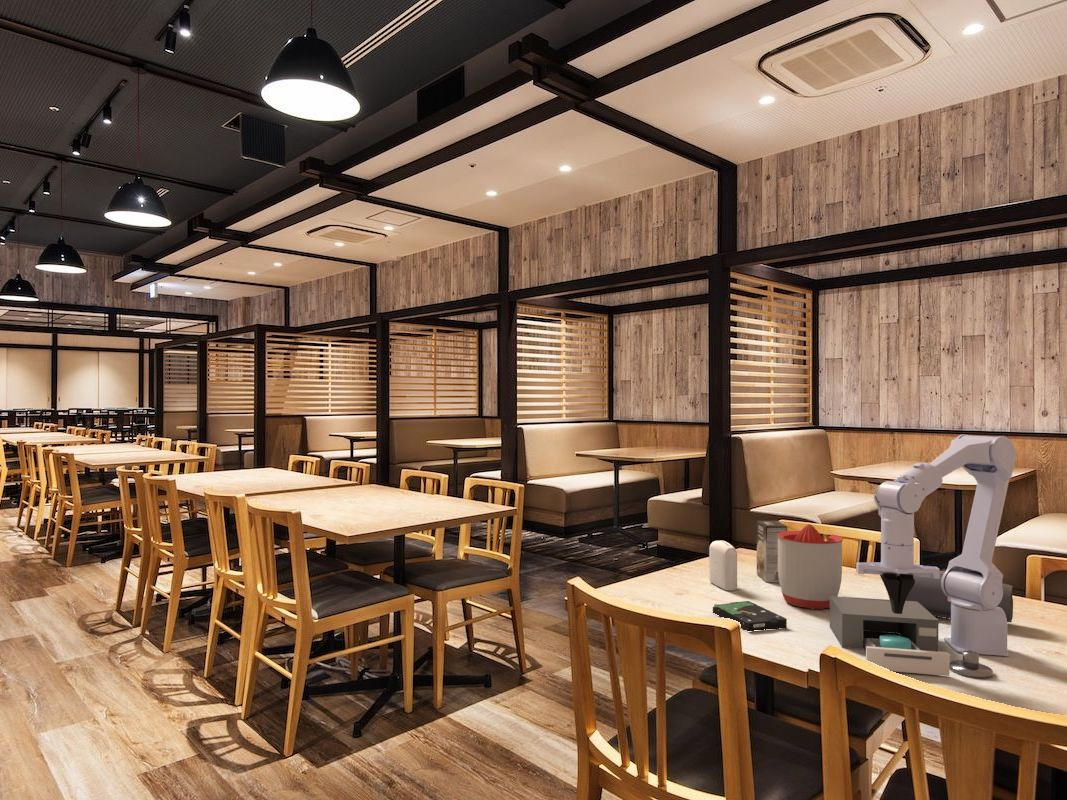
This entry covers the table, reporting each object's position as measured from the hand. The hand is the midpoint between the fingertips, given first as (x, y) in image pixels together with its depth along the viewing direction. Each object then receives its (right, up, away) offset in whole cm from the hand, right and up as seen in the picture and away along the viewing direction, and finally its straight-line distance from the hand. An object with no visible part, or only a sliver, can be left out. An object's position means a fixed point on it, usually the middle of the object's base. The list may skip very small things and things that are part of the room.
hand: (896, 612), depth 136 cm
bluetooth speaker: (+28, -10, +28) cm, 41 cm away
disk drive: (-21, -10, +25) cm, 34 cm away
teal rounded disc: (0, -8, +1) cm, 8 cm away
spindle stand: (+11, -10, -5) cm, 16 cm away
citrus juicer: (-1, -10, +40) cm, 41 cm away
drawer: (0, -10, +1) cm, 10 cm away
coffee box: (-3, -10, +64) cm, 64 cm away
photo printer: (-19, -10, +55) cm, 59 cm away
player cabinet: (+3, -10, +12) cm, 15 cm away
